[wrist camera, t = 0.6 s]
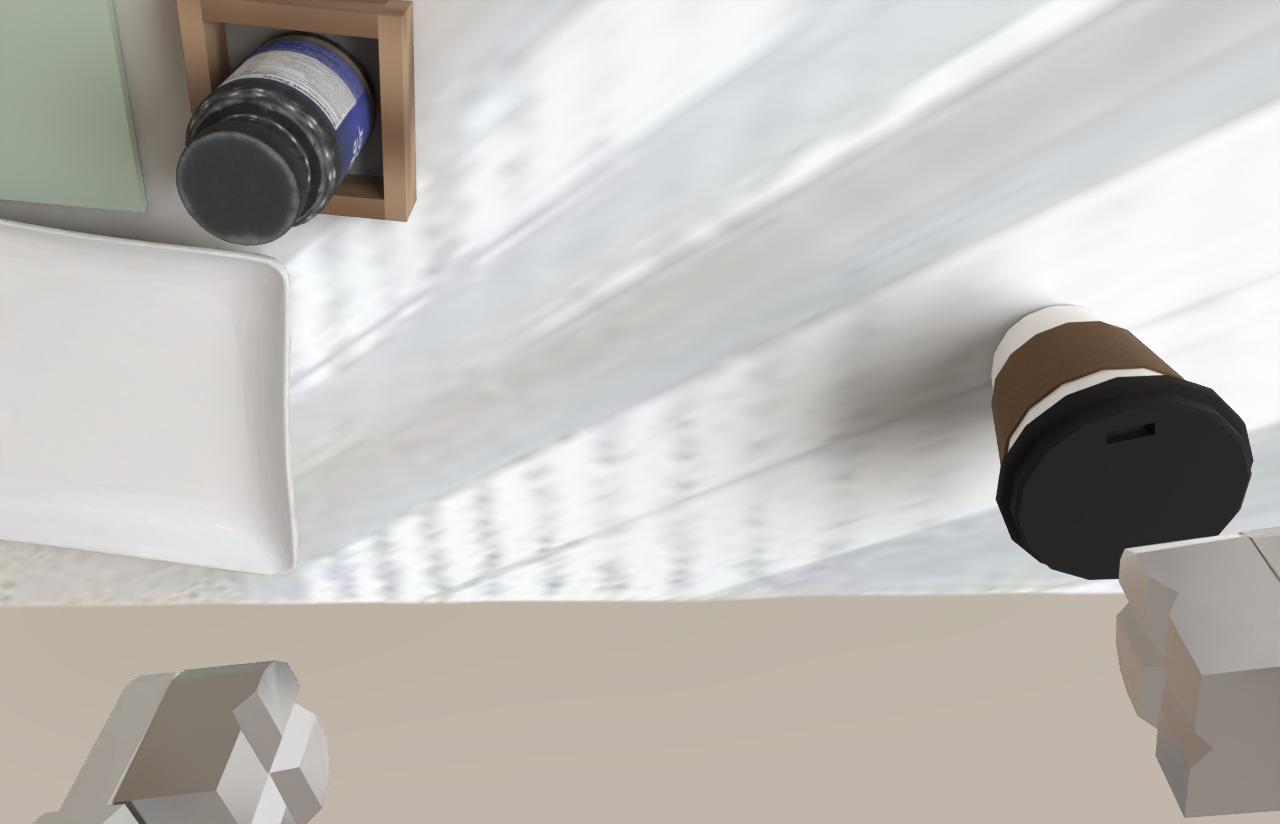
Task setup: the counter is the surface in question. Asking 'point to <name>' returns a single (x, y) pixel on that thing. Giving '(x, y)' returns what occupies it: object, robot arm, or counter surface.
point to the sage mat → (66, 107)
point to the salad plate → (145, 400)
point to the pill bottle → (275, 139)
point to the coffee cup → (1107, 444)
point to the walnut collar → (332, 6)
